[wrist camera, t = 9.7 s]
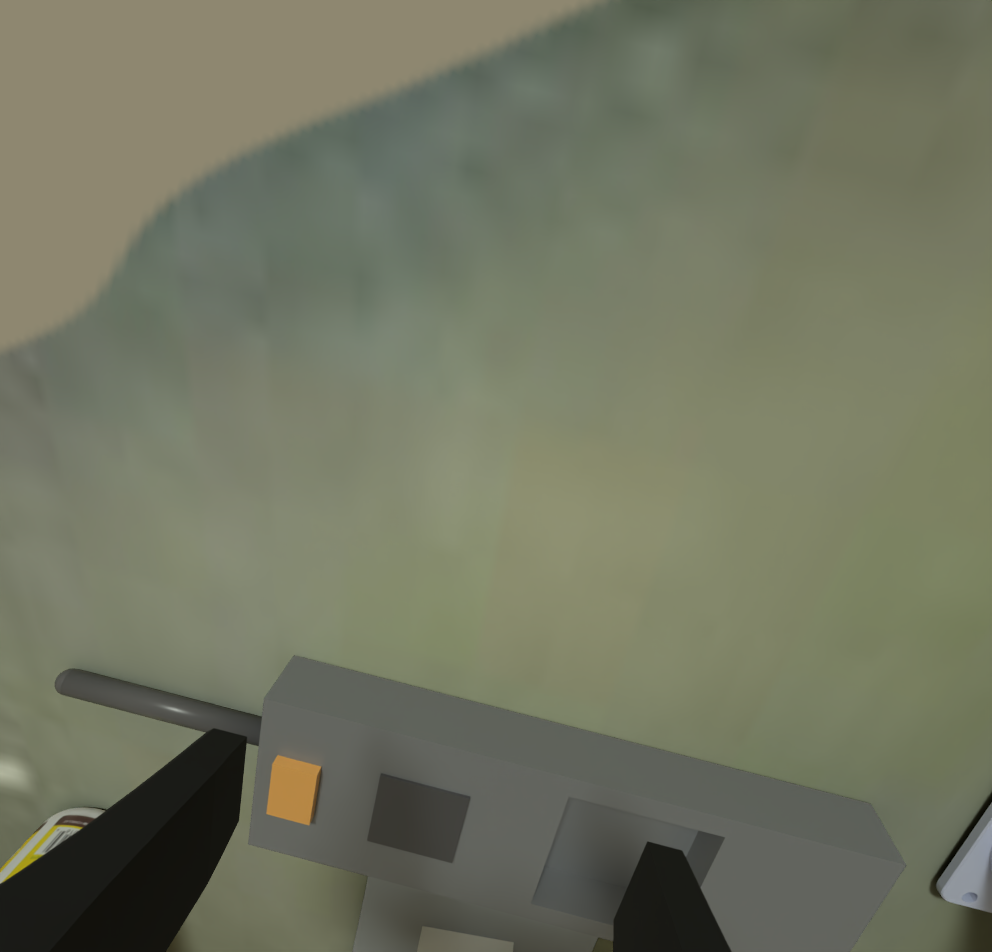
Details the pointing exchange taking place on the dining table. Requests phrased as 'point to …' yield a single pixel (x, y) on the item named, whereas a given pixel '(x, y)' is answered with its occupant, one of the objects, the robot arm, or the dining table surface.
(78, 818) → the supplement bottle
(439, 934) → the block
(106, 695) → the power strip
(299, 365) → the dining table surface
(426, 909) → the pad
